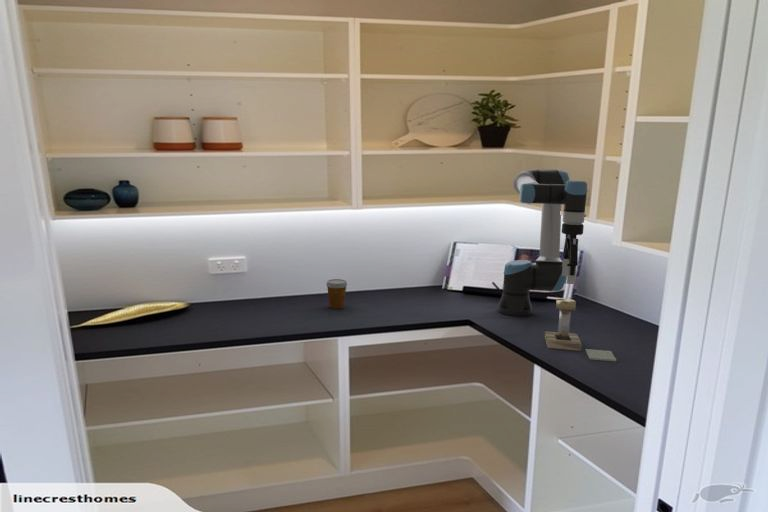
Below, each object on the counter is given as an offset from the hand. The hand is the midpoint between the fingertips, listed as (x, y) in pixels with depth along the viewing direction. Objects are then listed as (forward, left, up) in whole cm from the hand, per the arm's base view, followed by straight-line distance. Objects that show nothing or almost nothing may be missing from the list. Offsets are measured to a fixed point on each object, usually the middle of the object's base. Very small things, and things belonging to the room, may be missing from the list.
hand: (568, 279), depth 209 cm
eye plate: (0, 0, -25) cm, 25 cm away
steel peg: (0, 0, -25) cm, 25 cm away
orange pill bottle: (-27, -96, -25) cm, 103 cm away
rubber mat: (+10, +12, -25) cm, 30 cm away
